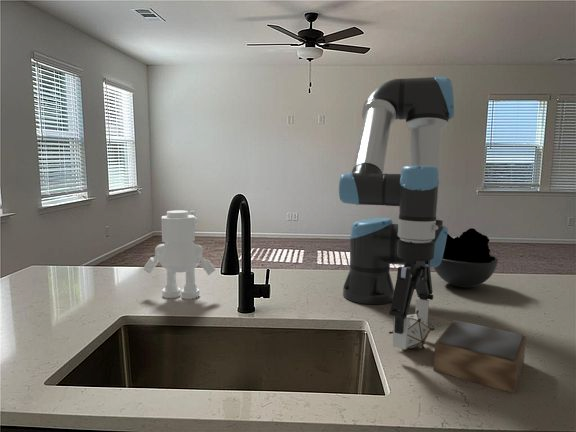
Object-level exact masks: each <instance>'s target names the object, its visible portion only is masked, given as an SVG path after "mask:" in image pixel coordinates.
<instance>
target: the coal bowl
mask: <svg viewBox="0 0 576 432" xmlns="http://www.w3.org/2000/svg"><path fill="white" fill-rule="evenodd" d="M489 242H490V238H489V237H488V236H487V235H484V234H482V233H481V232H479V231H477V229H475V228H472V227H470V228H468V229H467V230H465V231H463V232H462V233H461V234H460V235H459V236H455V238H454V237H452V236H451V235H450V234H449V233H447V239H446V244H445V249H444V254H443V258H442V262H441V264H440V265H439V266H437V267H433V269H434V271H435V272H436V275H438V276H439V277H440V278H441V279H442V280H443V281H444V282H446V283H448V284H450V285H452V286H455V287H459V288H472V287H477V286H479V285H482V284H484V283H485V282H486V281H488V280H489V279H490V278H491V276H492V275H494V272H495V271H496V268H497V266H498V263H499V259H498V257H496V256H495V255H492V254H490V252H491V250H490V247H489V245H488V244H489Z"/></svg>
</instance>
